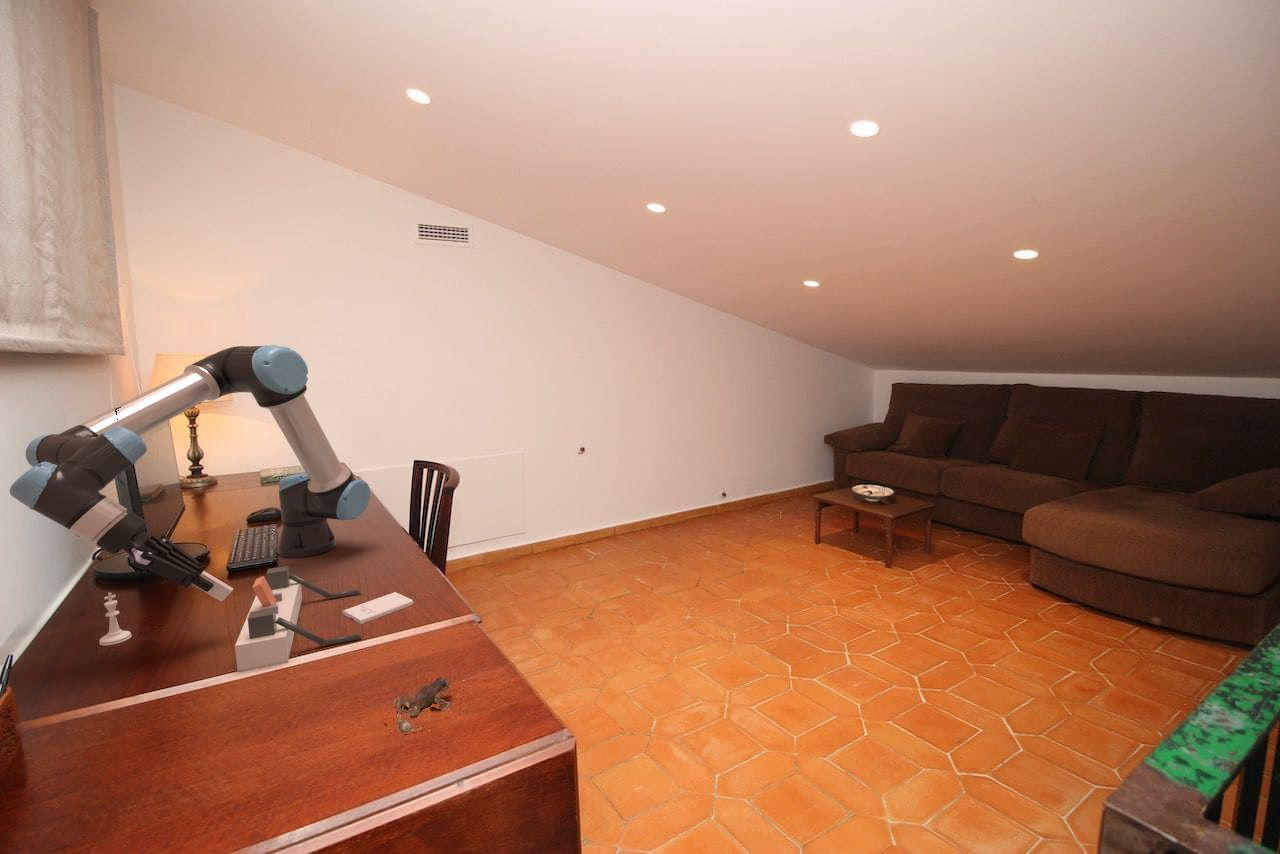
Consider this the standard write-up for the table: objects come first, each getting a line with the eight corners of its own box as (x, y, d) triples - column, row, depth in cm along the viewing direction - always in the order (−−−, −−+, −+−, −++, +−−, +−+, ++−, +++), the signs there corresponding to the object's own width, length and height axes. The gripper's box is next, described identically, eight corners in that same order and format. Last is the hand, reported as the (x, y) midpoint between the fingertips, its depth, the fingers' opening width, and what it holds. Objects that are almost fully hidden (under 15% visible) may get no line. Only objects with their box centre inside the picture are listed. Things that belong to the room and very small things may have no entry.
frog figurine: (432, 682, 103) (431, 662, 103) (471, 708, 96) (470, 687, 95) (368, 713, 95) (367, 691, 94) (406, 744, 87) (404, 721, 86)
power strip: (237, 671, 107) (232, 625, 105) (262, 604, 135) (259, 567, 134) (361, 646, 115) (358, 603, 114) (360, 588, 144) (358, 553, 143)
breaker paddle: (265, 612, 119) (252, 587, 118) (268, 603, 124) (256, 579, 122) (273, 608, 120) (260, 584, 118) (276, 599, 124) (263, 575, 123)
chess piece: (98, 640, 119) (91, 593, 118) (129, 631, 122) (124, 586, 121) (100, 648, 116) (94, 600, 114) (133, 639, 119) (127, 592, 118)
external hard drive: (413, 606, 135) (360, 626, 125) (394, 597, 140) (342, 616, 130) (413, 600, 135) (360, 619, 125) (394, 591, 140) (342, 609, 130)
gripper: (108, 533, 114) (219, 598, 123) (80, 553, 102) (205, 623, 112) (139, 503, 115) (247, 569, 125) (115, 520, 104) (236, 592, 113)
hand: (227, 595), depth 118 cm, fingers closed
